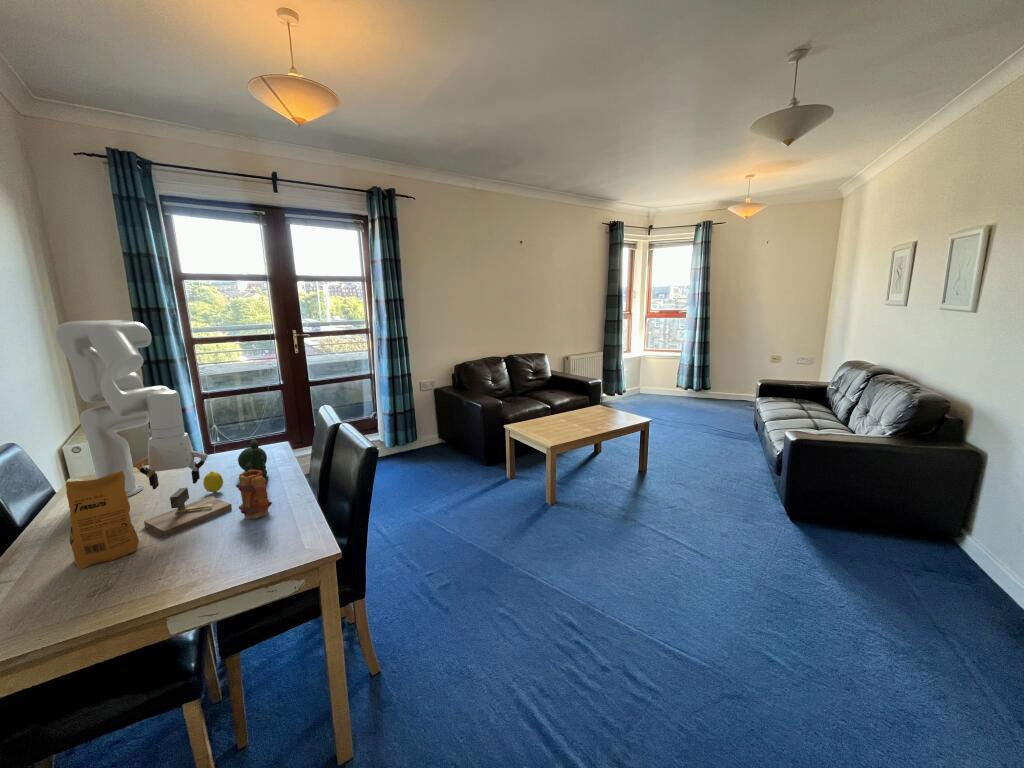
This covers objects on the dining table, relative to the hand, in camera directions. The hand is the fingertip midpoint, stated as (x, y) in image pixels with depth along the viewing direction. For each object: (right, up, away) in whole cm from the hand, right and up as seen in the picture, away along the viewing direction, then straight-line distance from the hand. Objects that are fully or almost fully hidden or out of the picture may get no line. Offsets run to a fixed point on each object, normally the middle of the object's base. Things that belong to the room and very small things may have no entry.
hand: (176, 484), depth 125 cm
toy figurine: (+6, -6, +30) cm, 31 cm away
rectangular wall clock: (+3, -11, +2) cm, 11 cm away
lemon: (-2, -8, +19) cm, 20 cm away
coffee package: (-4, -15, -16) cm, 22 cm away
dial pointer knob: (+4, -9, +2) cm, 10 cm away
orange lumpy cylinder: (+24, -11, +2) cm, 27 cm away
